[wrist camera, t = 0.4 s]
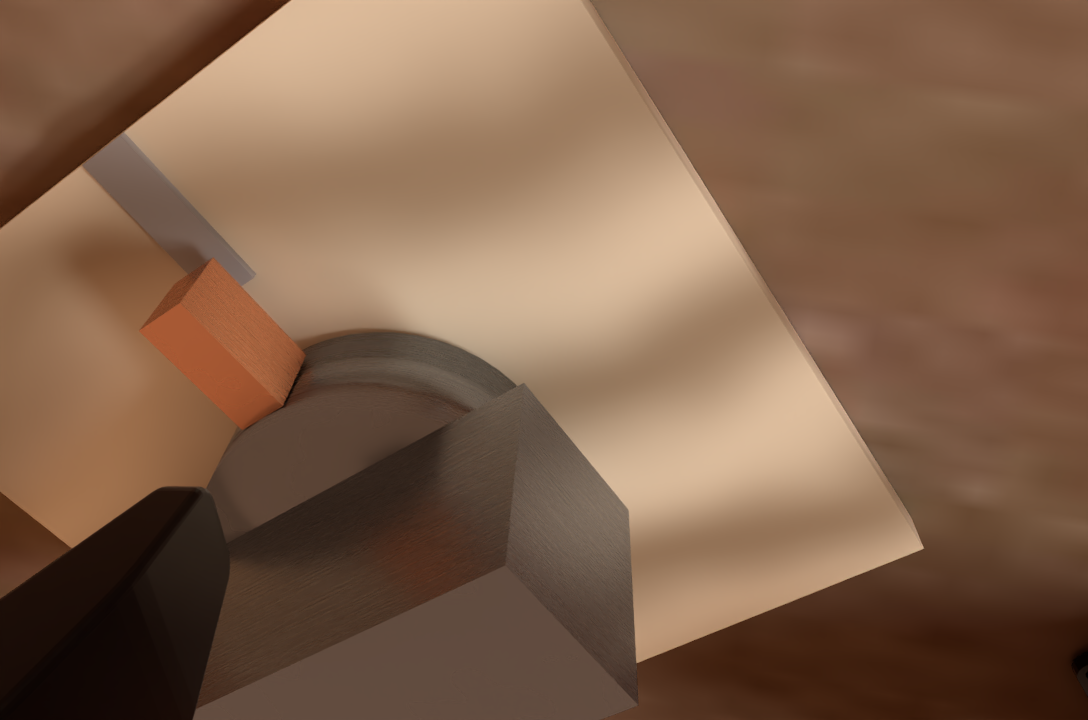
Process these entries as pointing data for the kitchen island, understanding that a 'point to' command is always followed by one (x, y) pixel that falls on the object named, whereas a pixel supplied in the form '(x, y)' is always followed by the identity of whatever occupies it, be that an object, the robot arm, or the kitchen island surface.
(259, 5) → the kitchen island surface
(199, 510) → the robot arm
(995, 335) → the kitchen island surface
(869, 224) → the kitchen island surface
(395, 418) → the coupling
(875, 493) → the beige square board
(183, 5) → the kitchen island surface
